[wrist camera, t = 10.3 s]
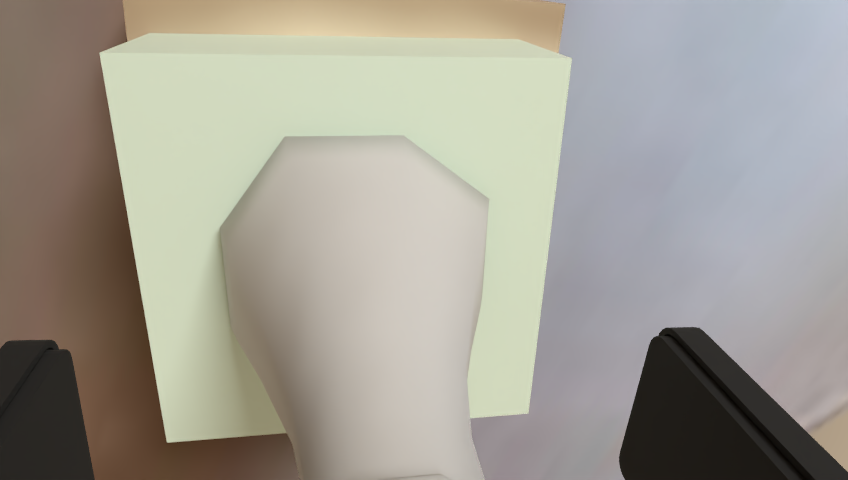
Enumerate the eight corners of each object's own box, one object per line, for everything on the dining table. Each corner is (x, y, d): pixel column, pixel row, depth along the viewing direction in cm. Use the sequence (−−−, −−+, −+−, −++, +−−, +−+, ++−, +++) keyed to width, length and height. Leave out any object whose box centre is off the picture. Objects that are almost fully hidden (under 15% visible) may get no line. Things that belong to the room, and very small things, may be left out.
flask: (436, 392, 19) (546, 785, 10) (190, 342, 17) (40, 776, 8) (530, 174, 16) (791, 420, 7) (257, 85, 14) (155, 274, 5)
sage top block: (149, 33, 18) (99, 52, 14) (518, 39, 19) (571, 58, 15) (194, 355, 22) (167, 442, 18) (492, 337, 24) (528, 413, 20)
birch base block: (157, -28, 21) (119, -27, 17) (522, -3, 23) (565, 3, 19) (188, 305, 26) (165, 367, 22) (485, 300, 28) (513, 355, 24)
